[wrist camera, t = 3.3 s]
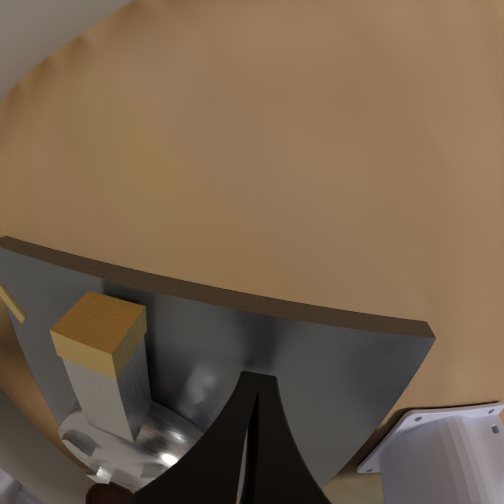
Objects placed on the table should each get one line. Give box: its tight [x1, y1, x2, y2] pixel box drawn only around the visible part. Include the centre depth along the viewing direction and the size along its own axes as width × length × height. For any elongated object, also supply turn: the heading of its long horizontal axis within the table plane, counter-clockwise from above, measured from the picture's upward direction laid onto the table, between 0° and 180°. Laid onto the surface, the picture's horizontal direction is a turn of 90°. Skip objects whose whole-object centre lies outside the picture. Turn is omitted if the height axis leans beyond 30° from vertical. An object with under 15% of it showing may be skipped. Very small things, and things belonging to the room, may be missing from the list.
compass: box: [86, 482, 133, 504], centre depth 19 cm, size 8×8×7 cm
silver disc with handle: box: [50, 291, 204, 492], centre depth 12 cm, size 15×9×4 cm, turn 171°
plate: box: [0, 236, 436, 497], centre depth 15 cm, size 22×20×1 cm
